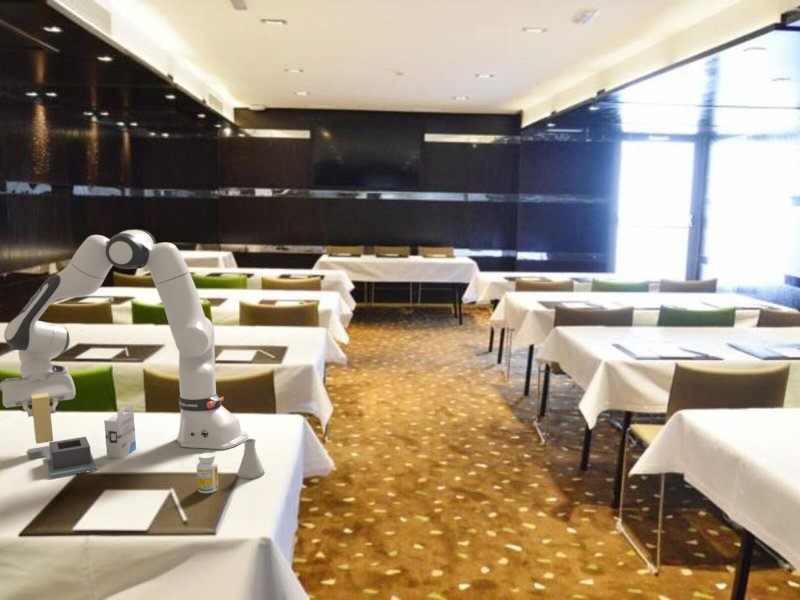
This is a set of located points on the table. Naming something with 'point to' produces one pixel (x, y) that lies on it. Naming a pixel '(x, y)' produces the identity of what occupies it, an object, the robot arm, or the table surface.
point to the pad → (39, 452)
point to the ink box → (120, 433)
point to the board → (70, 468)
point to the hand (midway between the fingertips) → (41, 414)
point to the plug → (42, 418)
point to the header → (70, 453)
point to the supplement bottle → (207, 473)
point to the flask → (250, 462)
